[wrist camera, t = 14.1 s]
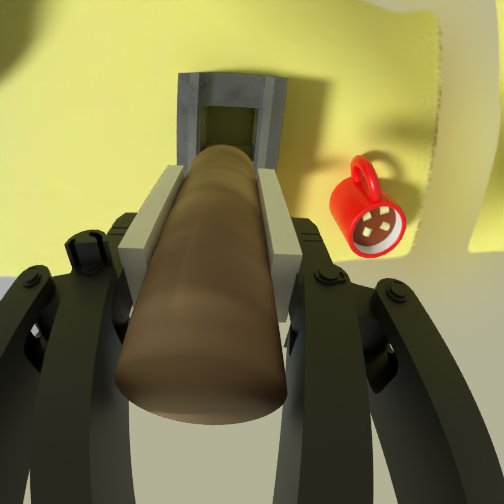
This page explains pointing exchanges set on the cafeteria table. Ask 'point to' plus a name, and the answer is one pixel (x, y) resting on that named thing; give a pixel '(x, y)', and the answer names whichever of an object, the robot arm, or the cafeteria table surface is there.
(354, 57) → the cafeteria table surface
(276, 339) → the dowel
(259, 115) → the mount
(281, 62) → the cafeteria table surface
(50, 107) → the cafeteria table surface
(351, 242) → the mug
